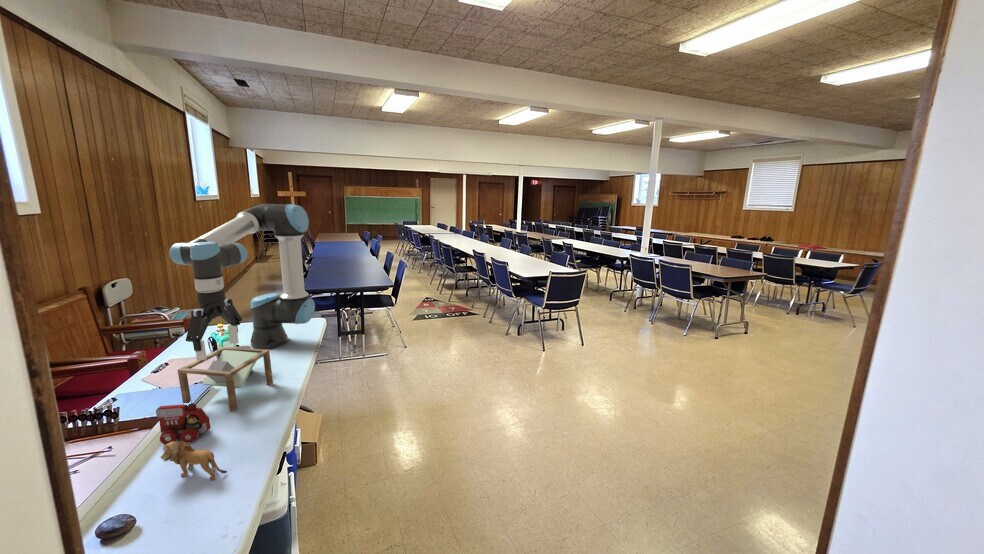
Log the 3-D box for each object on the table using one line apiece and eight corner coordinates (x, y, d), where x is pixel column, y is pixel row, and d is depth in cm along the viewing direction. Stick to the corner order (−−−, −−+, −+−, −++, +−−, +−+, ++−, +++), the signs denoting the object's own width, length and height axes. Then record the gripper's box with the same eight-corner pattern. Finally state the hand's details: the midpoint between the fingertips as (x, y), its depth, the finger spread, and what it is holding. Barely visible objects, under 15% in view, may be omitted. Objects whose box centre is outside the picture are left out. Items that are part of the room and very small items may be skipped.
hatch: (225, 350, 139) (223, 349, 138) (260, 353, 137) (259, 351, 137) (203, 384, 130) (201, 383, 129) (241, 388, 129) (239, 386, 128)
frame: (228, 379, 144) (223, 346, 141) (272, 383, 142) (269, 349, 139) (183, 407, 125) (177, 369, 122) (234, 411, 123) (229, 374, 120)
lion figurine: (160, 480, 94) (154, 449, 92) (177, 465, 99) (172, 435, 97) (220, 481, 95) (216, 450, 93) (234, 466, 100) (230, 436, 98)
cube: (223, 368, 133) (213, 360, 128) (236, 369, 132) (227, 361, 128) (215, 382, 129) (204, 374, 125) (229, 383, 129) (218, 375, 124)
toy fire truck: (204, 442, 109) (199, 410, 106) (154, 446, 106) (147, 413, 104) (216, 427, 115) (211, 397, 113) (169, 431, 113) (163, 400, 110)
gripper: (187, 301, 110) (197, 368, 115) (249, 281, 134) (255, 337, 139) (163, 299, 111) (174, 366, 115) (229, 280, 135) (236, 336, 140)
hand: (218, 350), depth 127 cm, fingers open, 13 cm apart
